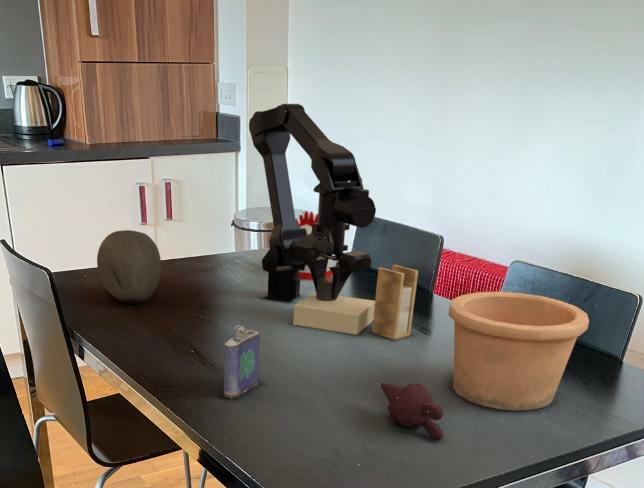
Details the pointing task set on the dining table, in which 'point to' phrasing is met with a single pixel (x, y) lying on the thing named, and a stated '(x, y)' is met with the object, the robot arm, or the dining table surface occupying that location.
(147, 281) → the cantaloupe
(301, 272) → the kitchen timer
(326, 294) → the dial
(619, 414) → the dining table surface
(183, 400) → the dining table surface
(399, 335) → the napkin holder
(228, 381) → the flask
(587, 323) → the pottery
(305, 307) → the wooden block
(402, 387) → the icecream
